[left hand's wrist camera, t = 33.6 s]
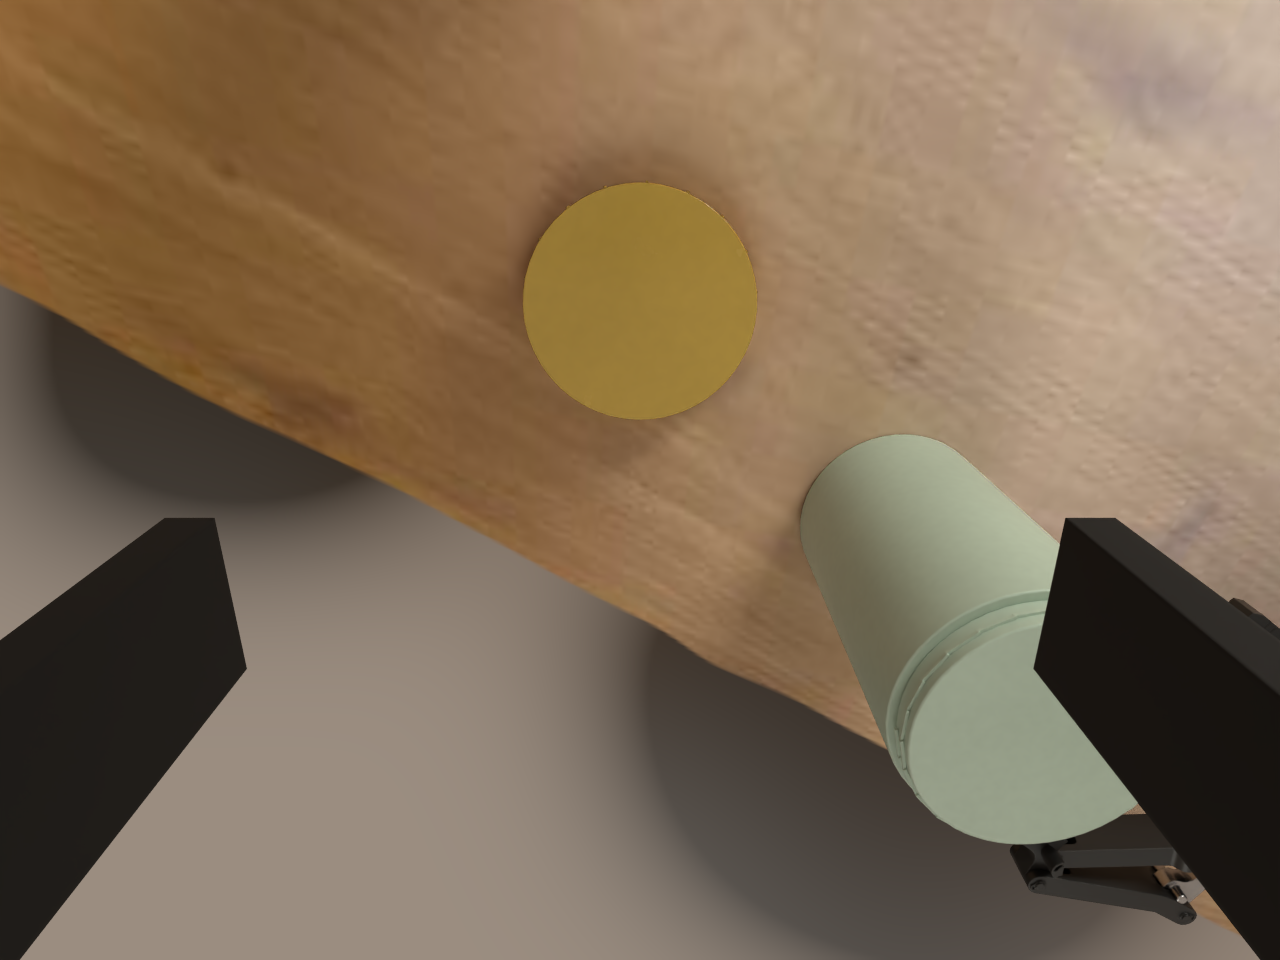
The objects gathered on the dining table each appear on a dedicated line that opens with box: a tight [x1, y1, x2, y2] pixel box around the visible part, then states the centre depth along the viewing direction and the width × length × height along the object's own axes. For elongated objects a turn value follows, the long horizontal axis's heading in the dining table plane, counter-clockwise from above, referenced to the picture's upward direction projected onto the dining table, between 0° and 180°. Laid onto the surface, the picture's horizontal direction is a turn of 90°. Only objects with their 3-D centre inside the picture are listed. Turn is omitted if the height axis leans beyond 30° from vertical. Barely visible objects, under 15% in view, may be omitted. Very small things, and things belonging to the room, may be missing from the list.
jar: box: [800, 434, 1138, 844], centre depth 36 cm, size 10×10×18 cm
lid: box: [523, 181, 757, 420], centre depth 39 cm, size 11×11×2 cm
